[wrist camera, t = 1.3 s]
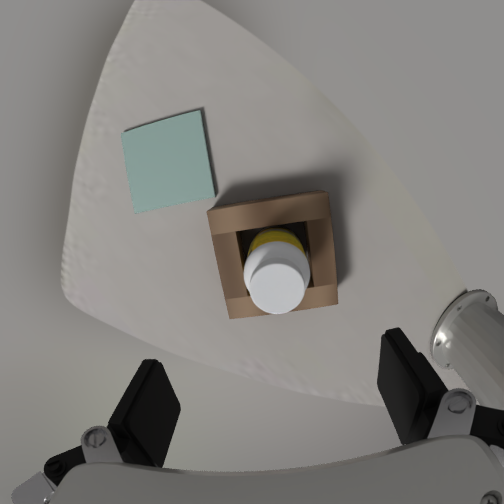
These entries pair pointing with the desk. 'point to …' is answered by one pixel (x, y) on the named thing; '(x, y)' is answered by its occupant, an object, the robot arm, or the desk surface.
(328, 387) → the desk surface
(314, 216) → the can holder
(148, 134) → the coaster plate
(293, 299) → the supplement bottle
